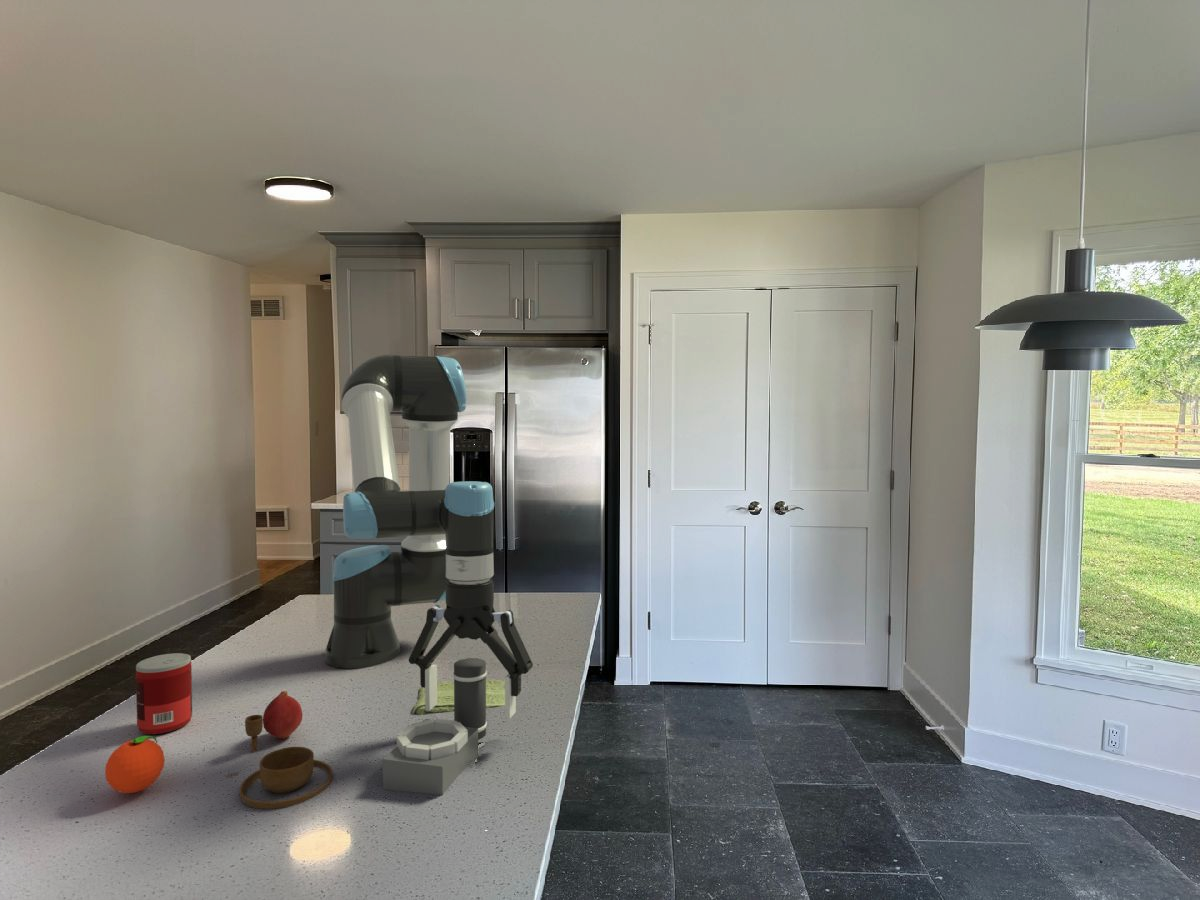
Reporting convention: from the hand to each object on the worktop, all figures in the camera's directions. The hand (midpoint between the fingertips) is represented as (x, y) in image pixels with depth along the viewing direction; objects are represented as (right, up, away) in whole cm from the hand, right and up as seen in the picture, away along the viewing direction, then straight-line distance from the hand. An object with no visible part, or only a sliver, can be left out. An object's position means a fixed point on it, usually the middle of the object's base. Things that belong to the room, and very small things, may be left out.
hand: (470, 711), depth 111 cm
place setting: (-24, -6, -9) cm, 27 cm away
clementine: (-44, -6, -13) cm, 47 cm away
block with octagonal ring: (-4, -6, -10) cm, 12 cm away
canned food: (-53, -5, +7) cm, 54 cm away
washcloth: (-4, -5, +15) cm, 17 cm away
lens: (0, -5, 0) cm, 5 cm away
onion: (-31, -5, +1) cm, 31 cm away
